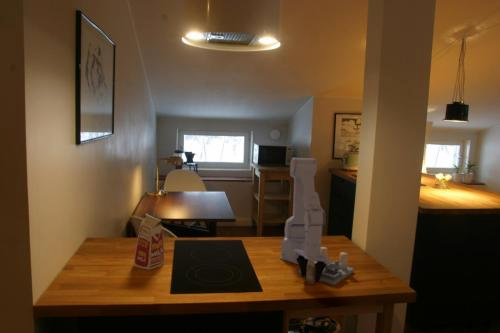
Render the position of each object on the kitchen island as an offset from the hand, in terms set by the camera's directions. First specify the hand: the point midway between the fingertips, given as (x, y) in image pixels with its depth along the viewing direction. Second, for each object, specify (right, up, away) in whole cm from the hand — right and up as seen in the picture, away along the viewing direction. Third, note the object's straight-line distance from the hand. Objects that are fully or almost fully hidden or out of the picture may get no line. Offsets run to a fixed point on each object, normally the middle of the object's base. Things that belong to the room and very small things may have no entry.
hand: (310, 278), depth 135 cm
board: (+8, -1, +10) cm, 13 cm away
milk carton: (-61, +2, +10) cm, 62 cm away
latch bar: (+8, +2, +8) cm, 11 cm away
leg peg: (0, -1, 0) cm, 1 cm away
